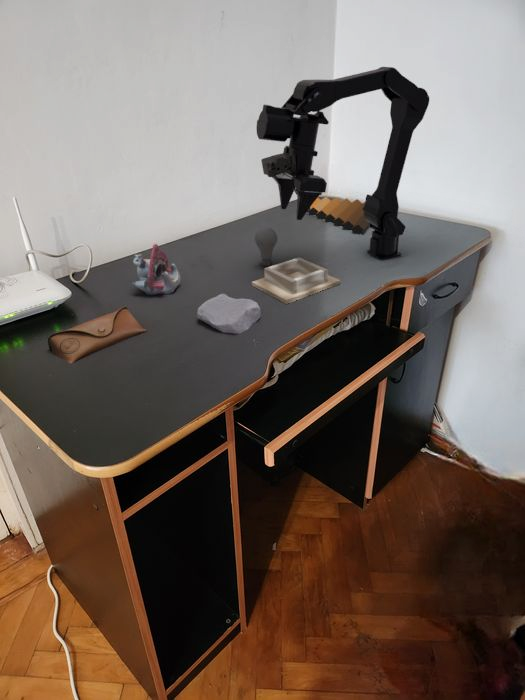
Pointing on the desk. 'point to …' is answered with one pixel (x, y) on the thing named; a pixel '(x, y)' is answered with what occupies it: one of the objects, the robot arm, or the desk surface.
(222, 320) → the stone block
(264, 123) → the robot arm
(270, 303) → the desk surface
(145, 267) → the grey and pink figurine
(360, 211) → the pan flute
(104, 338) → the sunglasses case
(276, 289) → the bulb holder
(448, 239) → the desk surface
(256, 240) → the light bulb
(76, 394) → the desk surface
